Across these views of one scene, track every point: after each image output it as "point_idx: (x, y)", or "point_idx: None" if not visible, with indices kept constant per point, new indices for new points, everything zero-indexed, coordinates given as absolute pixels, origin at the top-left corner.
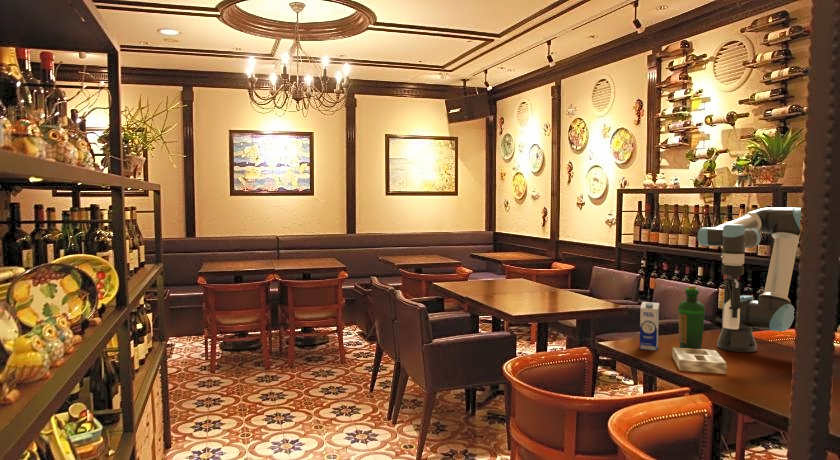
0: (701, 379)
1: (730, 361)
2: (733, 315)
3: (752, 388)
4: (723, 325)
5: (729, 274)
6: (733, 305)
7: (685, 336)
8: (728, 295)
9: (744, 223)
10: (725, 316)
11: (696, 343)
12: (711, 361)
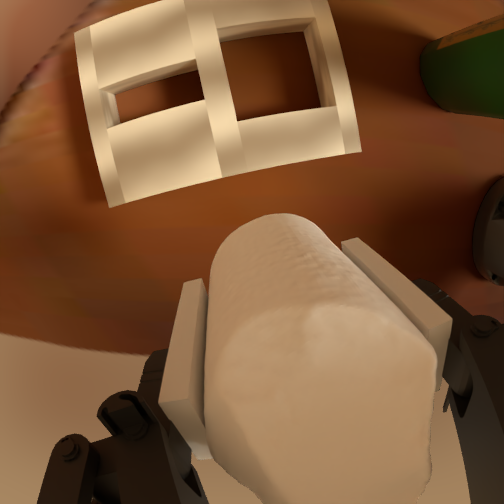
0: (18, 135)
1: (347, 206)
2: (144, 373)
3: (19, 278)
4: (258, 223)
5: None
6: (52, 468)
7: (455, 41)
8: (502, 488)
9: None
10: (235, 278)
11: (445, 87)
12: (107, 145)
